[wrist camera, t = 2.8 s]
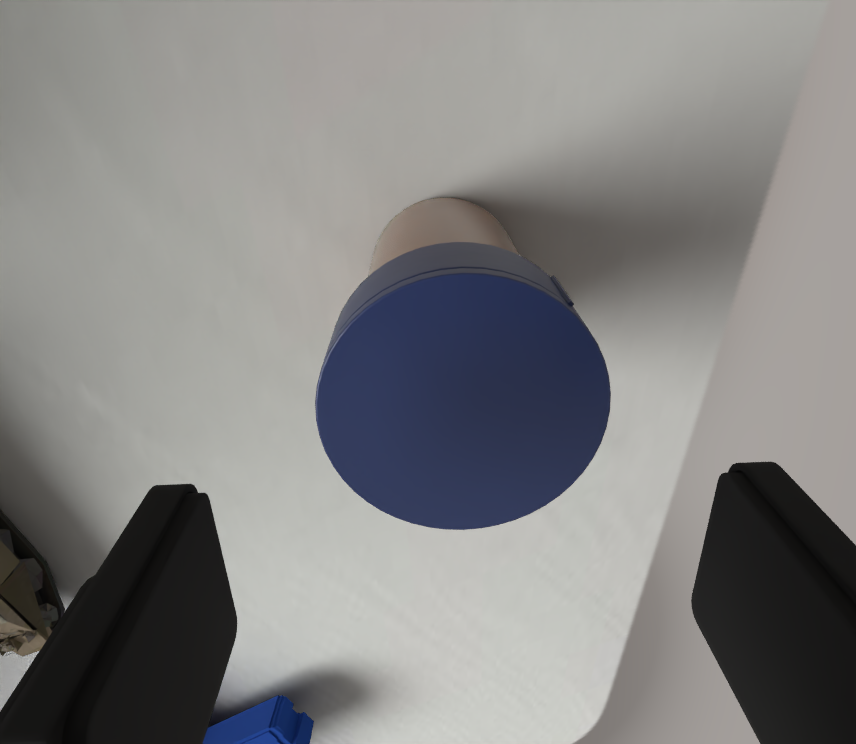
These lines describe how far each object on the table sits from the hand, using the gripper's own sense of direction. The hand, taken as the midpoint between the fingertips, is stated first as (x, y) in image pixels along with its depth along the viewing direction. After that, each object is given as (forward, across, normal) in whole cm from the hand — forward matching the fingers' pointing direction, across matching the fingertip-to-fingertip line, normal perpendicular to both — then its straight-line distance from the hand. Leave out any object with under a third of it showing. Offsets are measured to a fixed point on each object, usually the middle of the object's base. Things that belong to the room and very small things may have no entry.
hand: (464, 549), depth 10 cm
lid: (+4, 0, 0) cm, 4 cm away
